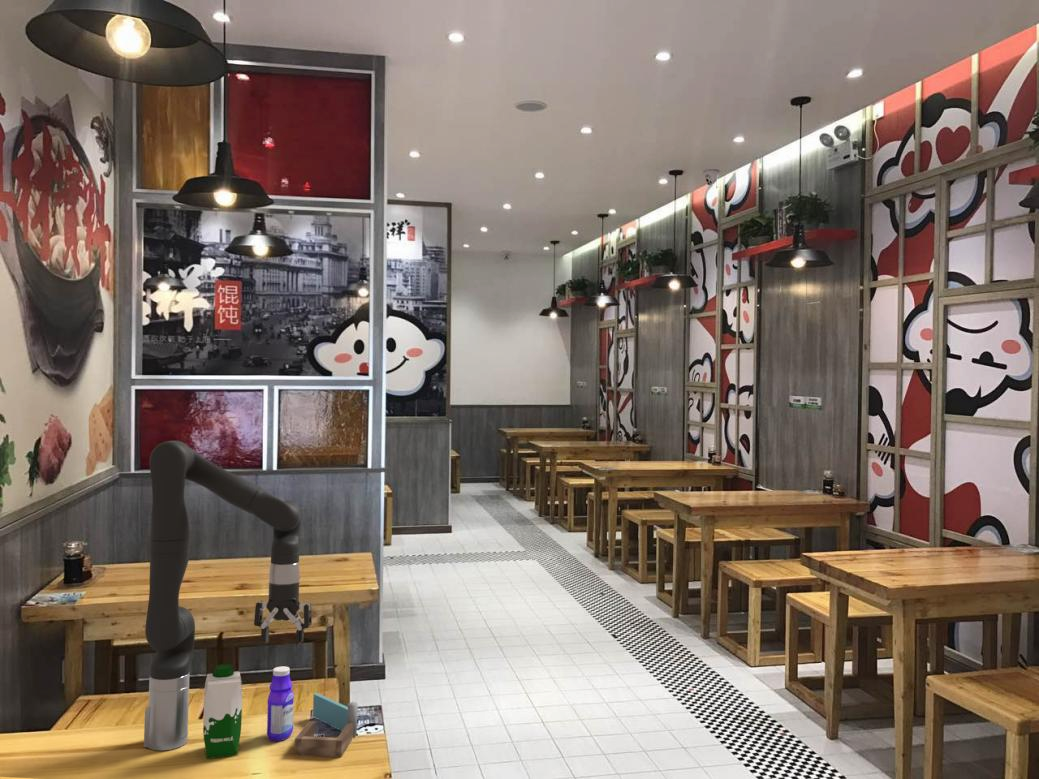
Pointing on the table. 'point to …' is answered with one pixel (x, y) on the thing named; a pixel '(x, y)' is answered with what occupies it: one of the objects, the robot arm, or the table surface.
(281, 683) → the bottle
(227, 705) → the milk carton
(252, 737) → the table surface
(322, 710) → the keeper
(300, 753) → the brown wooden tray
